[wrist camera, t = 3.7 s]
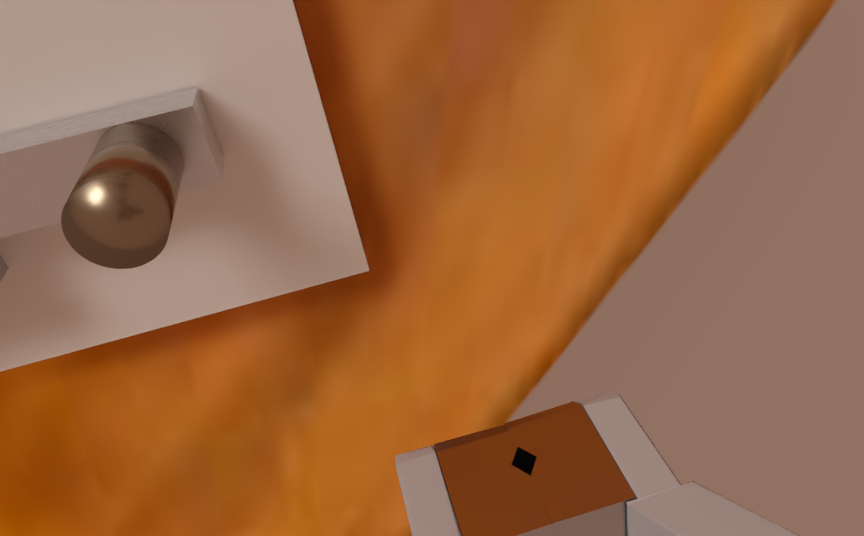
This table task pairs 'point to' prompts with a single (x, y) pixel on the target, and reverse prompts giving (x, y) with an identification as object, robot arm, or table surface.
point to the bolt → (110, 175)
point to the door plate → (195, 208)
